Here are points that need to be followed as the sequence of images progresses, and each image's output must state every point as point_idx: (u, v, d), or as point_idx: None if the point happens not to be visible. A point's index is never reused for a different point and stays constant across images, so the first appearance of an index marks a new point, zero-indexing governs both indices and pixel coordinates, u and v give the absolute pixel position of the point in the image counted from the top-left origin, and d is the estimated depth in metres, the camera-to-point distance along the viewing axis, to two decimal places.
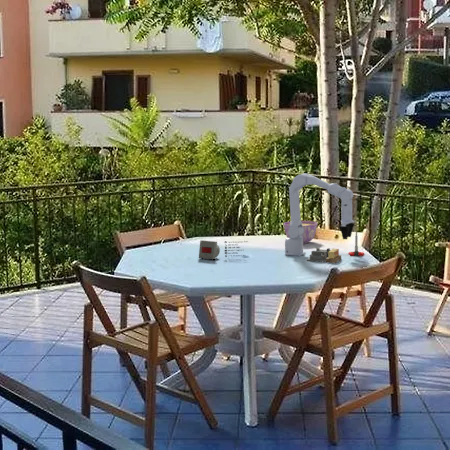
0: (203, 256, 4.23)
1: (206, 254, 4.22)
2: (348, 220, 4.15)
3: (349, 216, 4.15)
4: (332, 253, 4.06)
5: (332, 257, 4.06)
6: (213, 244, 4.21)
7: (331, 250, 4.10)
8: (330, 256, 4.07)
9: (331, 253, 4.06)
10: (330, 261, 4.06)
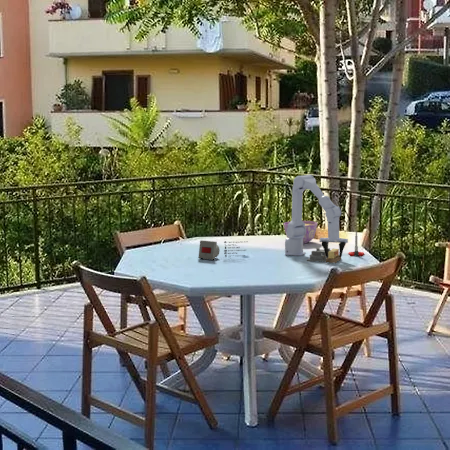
0: (203, 256, 4.23)
1: (206, 254, 4.22)
2: (328, 237, 4.09)
3: (328, 234, 4.08)
4: (332, 253, 4.06)
5: (332, 257, 4.06)
6: (212, 244, 4.20)
7: (331, 250, 4.10)
8: (330, 256, 4.07)
9: (331, 253, 4.06)
10: (330, 261, 4.06)
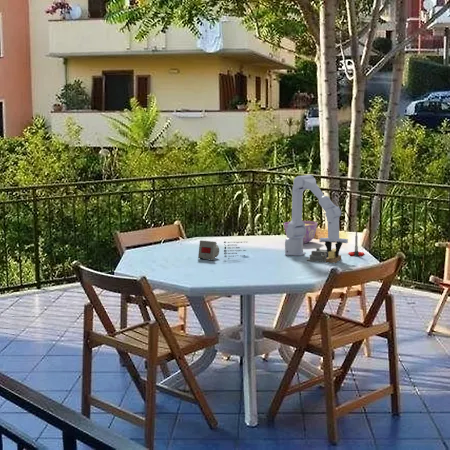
0: (202, 256, 4.23)
1: (205, 254, 4.22)
2: (328, 238, 4.09)
3: (328, 234, 4.08)
4: (332, 253, 4.06)
5: (332, 257, 4.06)
6: (212, 245, 4.20)
7: (331, 250, 4.10)
8: (330, 256, 4.07)
9: (331, 253, 4.06)
10: (330, 261, 4.06)
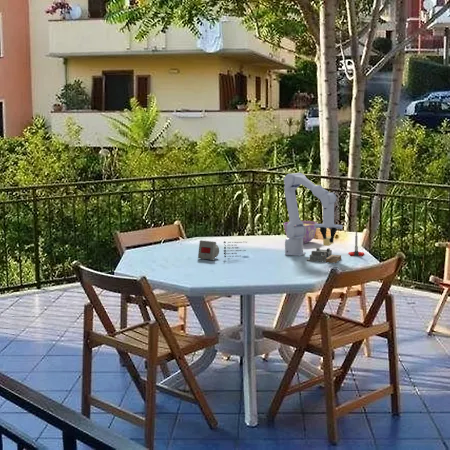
0: (202, 256, 4.23)
1: (205, 254, 4.22)
2: (323, 223, 4.11)
3: (323, 220, 4.10)
4: (327, 240, 4.09)
5: (327, 244, 4.09)
6: (212, 245, 4.20)
7: (326, 237, 4.12)
8: (325, 243, 4.09)
9: (326, 240, 4.09)
10: (330, 261, 4.06)
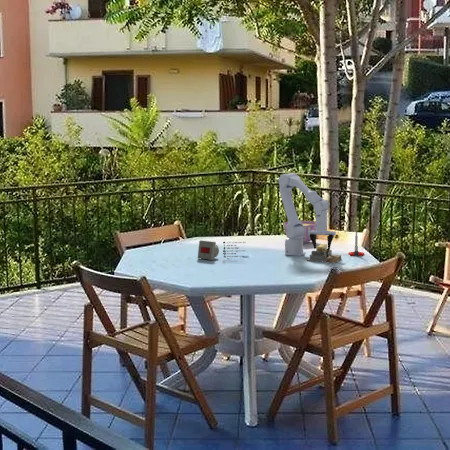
0: (202, 256, 4.23)
1: (205, 254, 4.22)
2: (316, 230, 4.17)
3: (316, 226, 4.16)
4: (320, 248, 4.14)
5: None
6: (211, 245, 4.20)
7: (319, 245, 4.18)
8: None
9: (319, 248, 4.15)
10: (330, 261, 4.06)
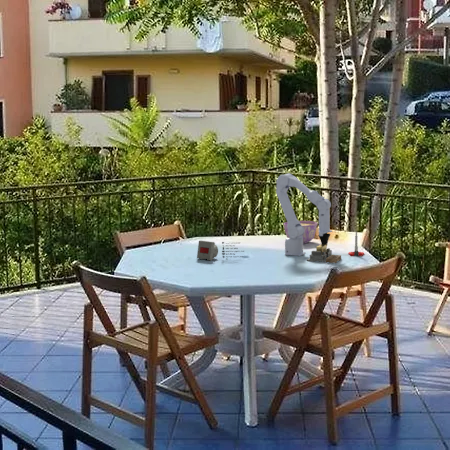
0: (201, 256, 4.23)
1: (204, 254, 4.22)
2: (325, 230, 4.19)
3: (326, 226, 4.19)
4: (320, 248, 4.14)
5: None
6: (210, 245, 4.19)
7: (319, 245, 4.17)
8: None
9: (319, 248, 4.14)
10: (330, 261, 4.06)
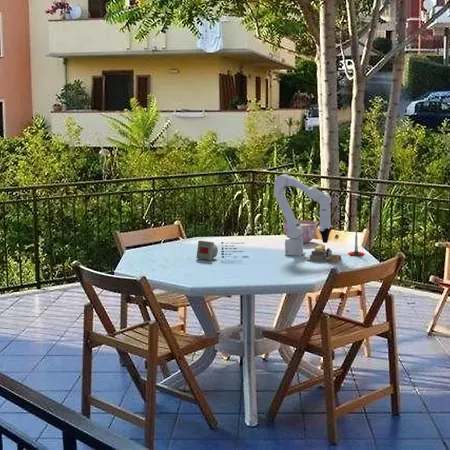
0: (200, 256, 4.23)
1: (203, 254, 4.22)
2: (326, 225, 4.21)
3: (327, 221, 4.20)
4: (318, 249, 4.11)
5: None
6: (209, 245, 4.19)
7: (317, 246, 4.15)
8: None
9: (317, 249, 4.11)
10: (330, 261, 4.06)
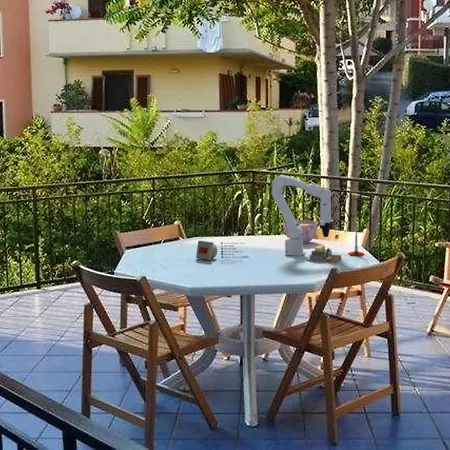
0: (200, 256, 4.23)
1: (202, 254, 4.21)
2: (327, 219, 4.21)
3: (328, 215, 4.21)
4: (318, 249, 4.11)
5: None
6: (209, 245, 4.19)
7: (317, 246, 4.15)
8: None
9: (317, 249, 4.11)
10: (330, 261, 4.06)
